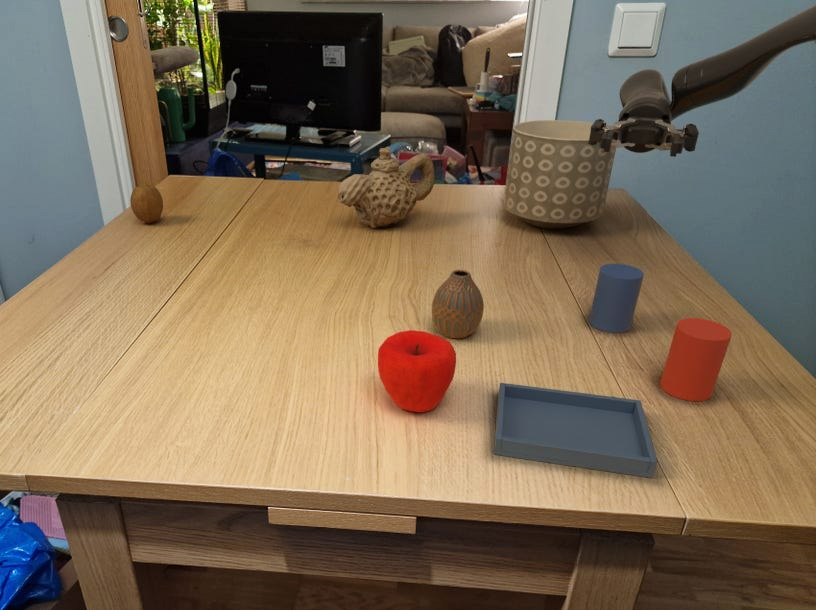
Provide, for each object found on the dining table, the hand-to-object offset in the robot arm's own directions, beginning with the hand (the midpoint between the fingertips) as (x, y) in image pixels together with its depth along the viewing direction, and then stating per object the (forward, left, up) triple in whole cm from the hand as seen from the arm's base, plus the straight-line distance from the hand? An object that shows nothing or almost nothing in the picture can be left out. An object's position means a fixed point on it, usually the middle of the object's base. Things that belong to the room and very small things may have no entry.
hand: (640, 146), depth 91 cm
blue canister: (+1, +10, -22) cm, 25 cm away
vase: (+22, +18, -23) cm, 36 cm away
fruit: (+86, -15, -23) cm, 90 cm away
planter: (+8, -35, -23) cm, 42 cm away
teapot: (+40, -26, -23) cm, 53 cm away
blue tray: (+8, +39, -22) cm, 46 cm away
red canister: (-6, +26, -22) cm, 35 cm away
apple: (+25, +37, -23) cm, 50 cm away
